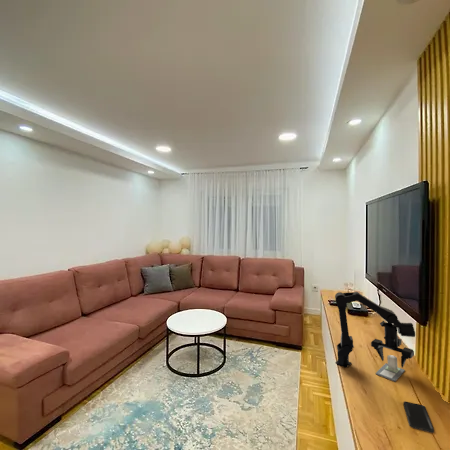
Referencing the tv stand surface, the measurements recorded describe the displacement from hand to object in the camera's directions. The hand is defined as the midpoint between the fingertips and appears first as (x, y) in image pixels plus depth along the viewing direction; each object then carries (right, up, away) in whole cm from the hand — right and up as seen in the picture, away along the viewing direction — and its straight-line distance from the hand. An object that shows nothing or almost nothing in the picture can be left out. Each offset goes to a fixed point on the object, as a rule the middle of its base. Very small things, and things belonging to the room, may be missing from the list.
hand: (392, 363), depth 137 cm
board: (-3, -3, -2) cm, 5 cm away
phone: (-11, -4, -33) cm, 35 cm away
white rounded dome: (0, -2, 0) cm, 2 cm away
